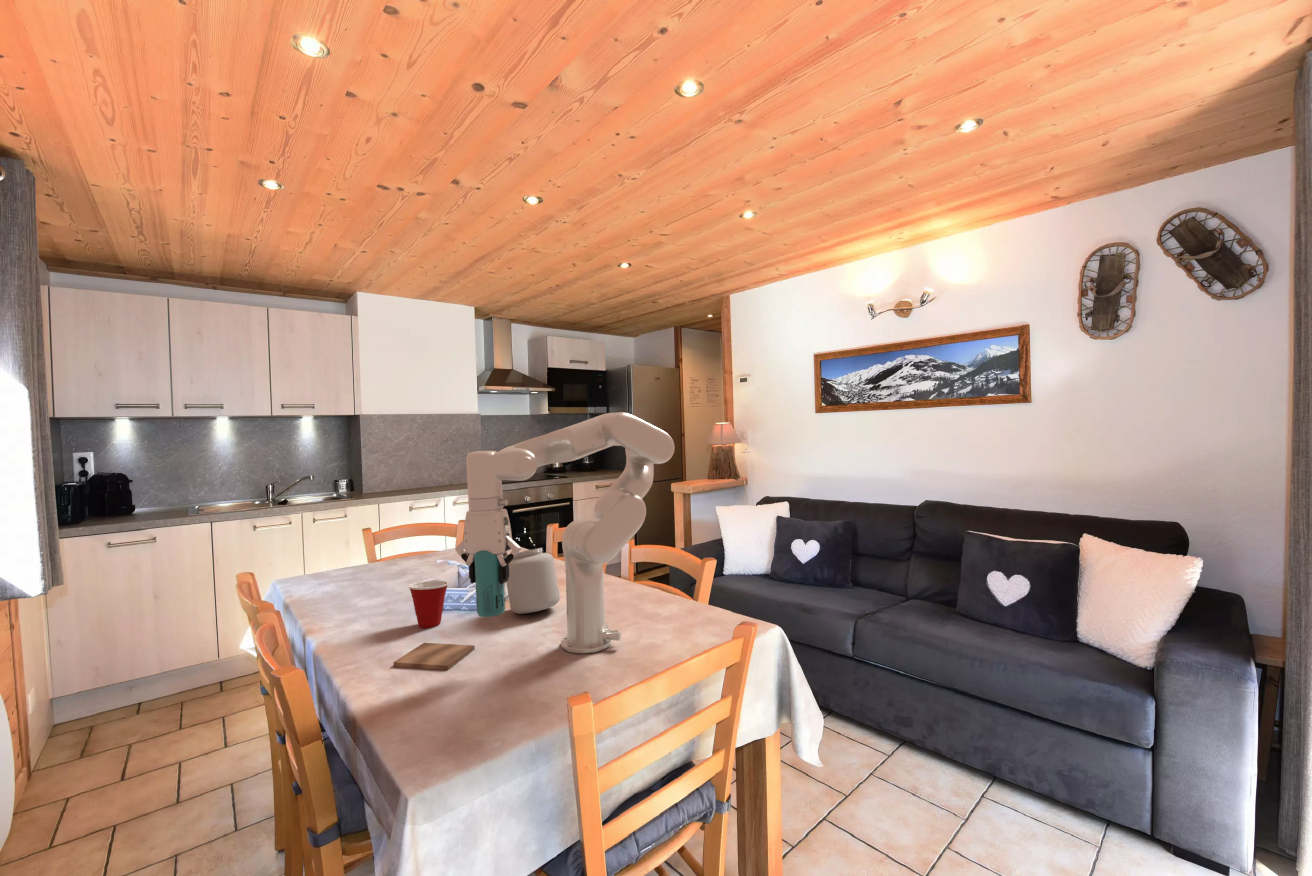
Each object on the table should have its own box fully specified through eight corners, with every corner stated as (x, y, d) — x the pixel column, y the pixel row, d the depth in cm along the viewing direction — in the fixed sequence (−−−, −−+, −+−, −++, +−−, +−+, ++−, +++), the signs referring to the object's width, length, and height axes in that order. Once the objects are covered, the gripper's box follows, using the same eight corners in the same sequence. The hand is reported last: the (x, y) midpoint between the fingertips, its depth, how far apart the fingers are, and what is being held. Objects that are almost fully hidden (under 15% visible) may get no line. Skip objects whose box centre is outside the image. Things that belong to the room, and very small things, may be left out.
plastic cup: (456, 618, 164) (455, 577, 163) (439, 631, 153) (437, 588, 153) (421, 617, 165) (420, 577, 164) (401, 631, 154) (400, 587, 154)
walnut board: (474, 649, 140) (474, 645, 140) (448, 670, 128) (447, 665, 128) (424, 646, 143) (423, 642, 143) (393, 666, 131) (393, 662, 131)
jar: (491, 612, 169) (488, 529, 168) (528, 599, 181) (527, 522, 180) (532, 624, 157) (530, 535, 157) (570, 609, 169) (568, 527, 169)
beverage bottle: (497, 624, 125) (493, 535, 125) (470, 623, 126) (466, 535, 126) (511, 614, 132) (507, 529, 131) (485, 613, 133) (481, 529, 132)
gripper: (527, 501, 130) (531, 577, 131) (459, 502, 134) (463, 576, 134) (513, 506, 123) (517, 587, 123) (442, 507, 126) (446, 586, 127)
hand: (489, 581), depth 129 cm, fingers closed on beverage bottle, 6 cm apart
